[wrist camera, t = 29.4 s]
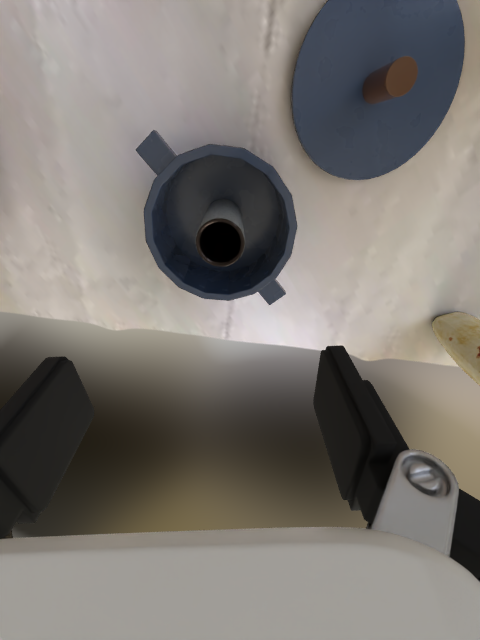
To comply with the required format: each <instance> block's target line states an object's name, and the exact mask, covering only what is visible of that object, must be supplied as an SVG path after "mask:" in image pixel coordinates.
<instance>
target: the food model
mask: <svg viewBox="0 0 480 640" xmlns="http://www.w3.org/2000/svg"><path fill="white" fill-rule="evenodd" d="M432 328H433V331H434V333H435V335H436V337H437V339H438V340H439V342H440V343H441V344H442V346H443V347H444V348H445V350H446V351H447V352H448V354H449V355H450V356H451V357H452V358H453V359H454V361H455V362H456V363H457V364H458V365H459V366H460V367H461V368H462V369H463V370H464V371H465V372H466V373H467V374H468V375H469V376H470V377H471V378H472V379H473V380H474V381H475V382H476V383H477V384H478V385H479V386H480V320H479V319H477V318H476V317H474V316H471V315H469V314H466V313H462V312H454V313H449V314H445V315H442V316H439V317H437V318H436V319H435V320H434V321H433V323H432Z"/></svg>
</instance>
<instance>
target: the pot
mask: <svg viewBox="0 0 480 640" xmlns="http://www.w3.org/2000/svg"><path fill="white" fill-rule="evenodd" d="M136 151H137V152H138V154H139V155H140V156H141V157H142V158H143V159H144V161H145V162H146V163H147V164H148V165H149V166H150V167H151V169H152V170H153V171H154V172H155V173H156V174H157V177H156V178H155V179H154V182H153V184H152V187H151V190H150V193H149V196H148V199H147V202H146V205H145V208H144V222H145V236H146V242H147V244H148V247H149V249H150V251H151V253H152V255H153V257H154V259H155V261H156V263H157V265H158V267H159V269H160V270H161V271H162V272H164V273H165V274H166V275H167V276H168V277H169V278H170V279H171V280H172V281H173V282H174V283H175V284H176V285H177V286H178V287H179V288H181V289H183V290H186V291H188V292H190V293H192V294H194V295H197V296H199V297H201V298H204V299H215V300H227V301H229V300H234V299H237V298H241V297H245V296H248V295H252V294H255V293H256V292H259V293H260V295H261V296H262V297H263V298H264V299H265V300H266V302H267V303H268V304H269V305H271V304H272V303H274V302H275V301H277V300H278V299H279V298H281V297H282V296H284V295H285V294H286V293H285V290H284V289H283V288H282V286H281V285H280V284H279V283H278V281H277V280H276V279H275V278H277V276H278V275H279V273H280V272H281V270H282V269H283V267H284V265H285V264H286V262H287V261H288V259H289V258H290V256H291V254H292V249H293V244H294V239H295V235H296V230H297V222H296V216H295V211H294V205H293V200H292V195H291V193H290V192H289V190H288V189H287V187H286V186H285V184H284V183H283V181H282V180H281V178H280V176H279V175H278V173H277V172H276V170H275V169H274V168H273V167H272V166H271V165H269V164H268V163H266V162H265V161H263V160H262V159H260V158H258V157H257V156H255V155H254V154H252V153H251V152H249V151H248V150H246V149H244V148H241V147H233V146H225V145H217V144H208V145H206V146H203V147H200V148H197V149H194V150H191V151H189V152H186V153H183V154H180V155H178V156H176V154H175V153H174V152H173V151H172V149H171V148H170V147H169V146H168V144H167V143H166V142H165V141H164V140H163V138H162V137H161V136H160V135H159V133H158V132H157V131H156V130H153V131H152V132H151V133H150V134H149V136H148V137H147V138H146V139H145V140H144V141H143V142H142V143H141V144H140V146H139V147H138V148H137V149H136ZM219 199H227V200H230V201H232V202H233V203H235V204H236V205H237V206H238V208H239V209H240V212H241V214H242V221H243V229H244V237H245V247H244V251H243V253H242V255H241V257H240V258H239V259H238V260H237V261H236V262H235V263H233V264H231V265H229V266H224V267H218V266H213V265H211V264H209V263H207V262H206V261H204V260H203V259H202V258H201V256H200V255H199V253H198V251H197V248H196V235H197V232H198V229H199V227H200V225H201V222H202V220H203V217H204V215H205V212H206V210H207V208H208V207H209V206H210V204H211V203H213V202H214V201H216V200H219Z"/></svg>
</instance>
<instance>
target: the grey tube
mask: <svg viewBox="0 0 480 640" xmlns="http://www.w3.org/2000/svg"><path fill="white" fill-rule="evenodd" d="M244 247H245V237H244V229H243V221H242V214H241V212H240V209H239V208H238V206H237V205H236V204H235V203H233V202H232V201H230V200H227V199H219V200H216V201H214V202H213V203H211V204H210V206H209V207H208V208H207V210H206V212H205V215H204V217H203V220H202V222H201V225H200V227H199V229H198V232H197V235H196V248H197V251H198V253H199V255H200V256H201V258H202V259H203V260H204V261H206V262H207V263H209V264H211V265H213V266H218V267H224V266H229V265H231V264H233V263H235V262H236V261H237V260H238V259H239V258H240V257H241V255H242V253H243V251H244Z"/></svg>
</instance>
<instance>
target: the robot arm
mask: <svg viewBox="0 0 480 640" xmlns="http://www.w3.org/2000/svg"><path fill="white" fill-rule="evenodd" d="M314 409H315V412H316V416H317V419H318V422H319V426H320V429H321V432H322V435H323V439H324V442H325V445H326V448H327V451H328V455H329V458H330V461H331V464H332V468H333V471H334V474H335V478H336V481H337V484H338V487H339V490H340V493H341V496H342V498H343V500H348V502H349V505H350V508H351V510H352V511H353V510H361V512H362V514H363V517H364V519H365V520H366V521H367V522H368V524H367V527H366V529H362V528H346V527H298V528H259V529H229V530H199V531H173V532H148V533H147V532H146V533H121V534H97V535H75V536H51V537H28V538H13V536H12V528H13V526H14V525H15V523H16V522H17V523H18V524H19V523H20V524H22V523H35V522H36V521H37V519H38V517H39V515H40V513H41V512H42V511H44V510H45V509H46V508H47V506H48V504H49V503H50V501H51V499H52V497H53V495H54V493H55V491H56V489H57V487H58V485H59V483H60V481H61V479H62V477H63V475H64V474H65V472H66V470H67V468H68V466H69V464H70V462H71V460H72V458H73V456H74V454H75V452H76V450H77V448H78V446H79V444H80V442H81V440H82V438H83V437H84V434H85V433H86V430H87V429H88V427H89V425H90V423H91V421H92V419H93V416H94V408H93V406H92V404H91V402H90V400H89V397H88V395H87V393H86V391H85V389H84V386H83V384H82V382H81V380H80V378H79V375H78V373H77V371H76V369H75V367H74V365H73V363H72V361H70V360H68V359H67V358H66V357H48V358H46V359H45V360H44V361H43V362H42V363H41V364H40V365H39V366H38V368H37V369H36V370H35V371H34V372H33V373H32V374H31V375H30V377H29V378H28V379H27V380H26V381H25V382H24V383H23V385H22V386H21V387H20V388H19V389H18V390H17V391H16V393H15V394H14V395H13V396H12V397H11V398H10V400H9V401H8V402H7V403H6V404H5V405H4V406H3V407H2V409H1V410H0V640H480V501H479V500H478V499H475V498H474V497H472V496H471V495H469V494H467V493H466V492H464V491H462V490H461V489H459V487H458V482H457V480H456V478H455V476H454V474H453V473H452V472H451V470H450V469H449V467H448V466H447V465H445V464H444V463H443V462H442V461H441V460H440V459H438V458H436V457H435V456H433V455H432V454H429V453H427V452H424V451H421V450H415V449H411V450H410V449H409V448H408V446H407V444H406V443H405V441H404V439H403V437H402V436H401V434H400V432H399V430H398V429H397V427H396V425H395V423H394V422H393V420H392V418H391V417H390V415H389V413H388V411H387V410H386V408H385V406H384V405H383V403H382V401H381V399H380V398H379V396H378V394H377V392H376V391H375V389H374V387H373V386H372V384H371V383H370V382H369V381H368V380H362V378H361V377H360V375H359V373H358V371H357V369H356V368H355V366H354V364H353V362H352V360H351V359H350V357H349V355H348V353H347V351H346V349H345V348H344V346H327V347H326V350H322V351H321V355H320V362H319V368H318V374H317V381H316V387H315V394H314Z"/></svg>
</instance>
